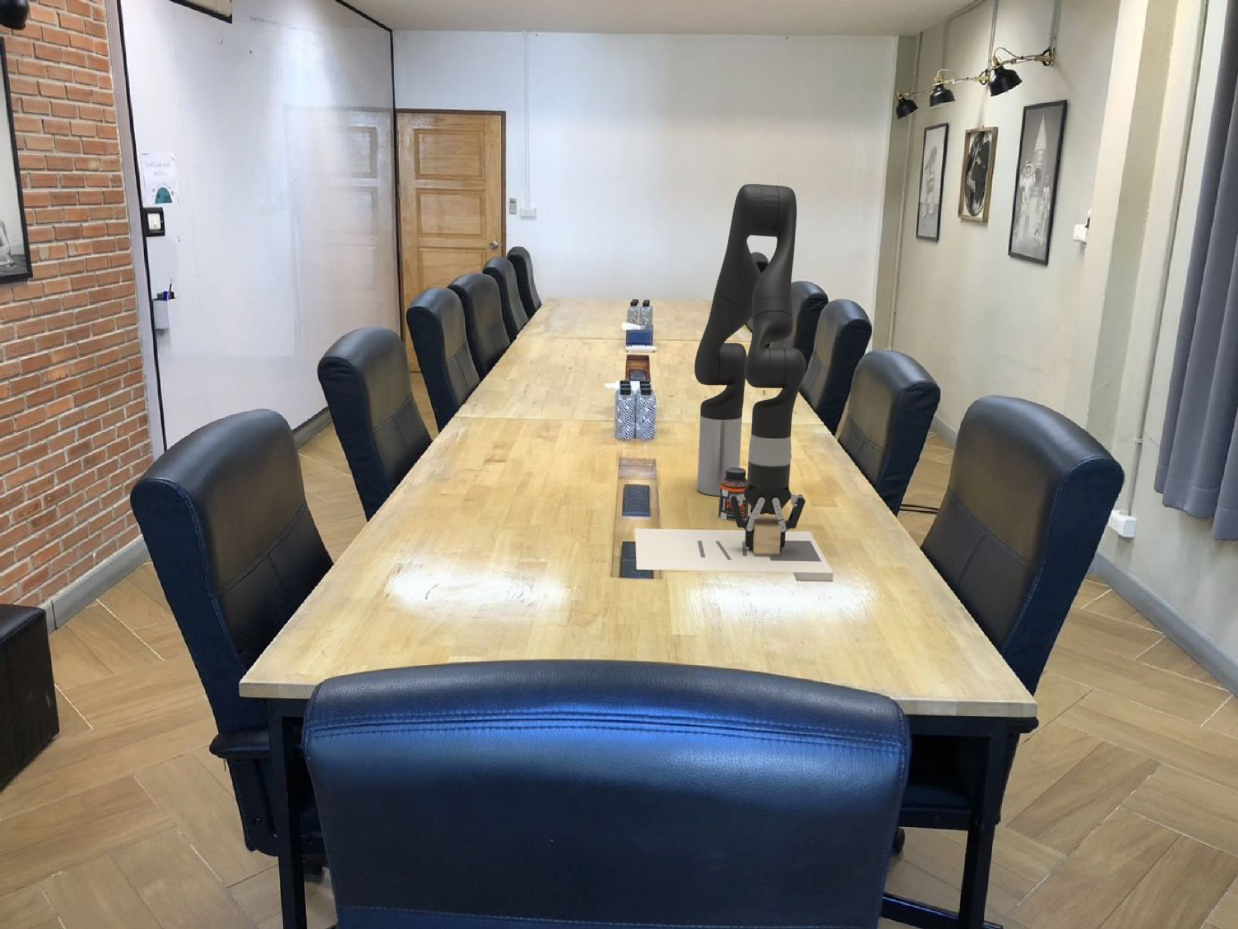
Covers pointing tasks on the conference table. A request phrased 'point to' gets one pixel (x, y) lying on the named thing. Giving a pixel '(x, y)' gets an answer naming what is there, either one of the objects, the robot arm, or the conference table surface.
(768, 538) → the block
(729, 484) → the supplement bottle
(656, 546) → the board
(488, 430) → the conference table surface
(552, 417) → the conference table surface
